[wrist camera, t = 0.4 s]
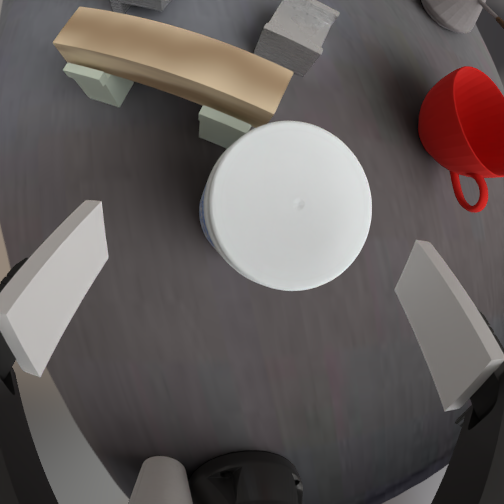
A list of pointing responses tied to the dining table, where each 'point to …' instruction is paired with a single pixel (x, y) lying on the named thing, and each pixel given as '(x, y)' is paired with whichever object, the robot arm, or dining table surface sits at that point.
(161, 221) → the dining table surface
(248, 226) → the supplement tub
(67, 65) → the rack
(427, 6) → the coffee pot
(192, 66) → the rail
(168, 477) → the dixie cup
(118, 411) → the dining table surface
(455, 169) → the ceramic cup
